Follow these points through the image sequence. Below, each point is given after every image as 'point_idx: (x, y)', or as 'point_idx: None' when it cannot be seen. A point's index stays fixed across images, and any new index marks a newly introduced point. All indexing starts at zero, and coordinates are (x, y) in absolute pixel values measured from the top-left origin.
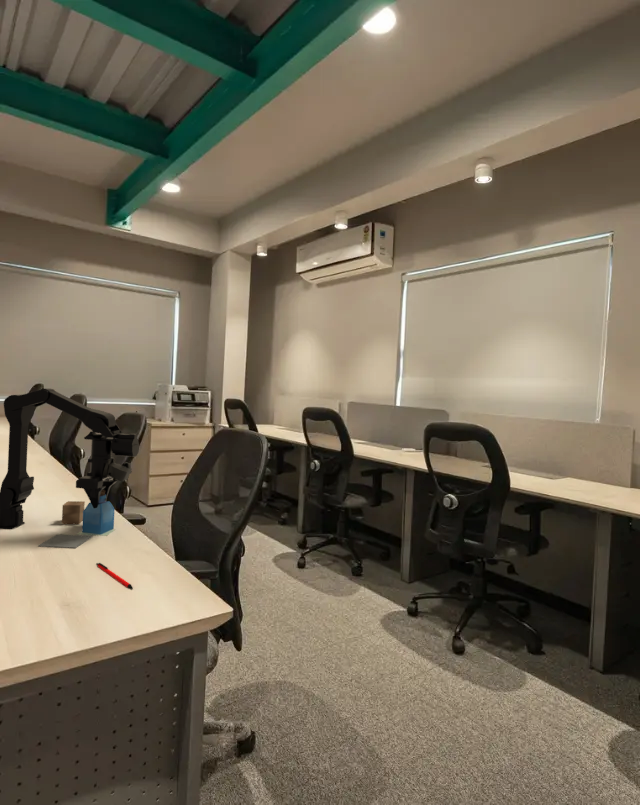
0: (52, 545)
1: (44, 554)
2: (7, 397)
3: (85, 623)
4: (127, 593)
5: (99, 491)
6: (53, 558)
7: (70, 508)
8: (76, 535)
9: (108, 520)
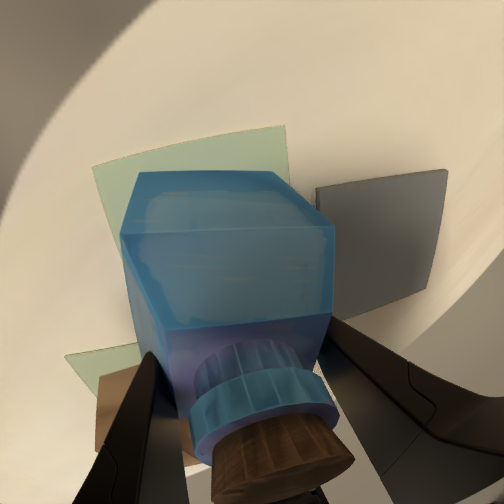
0: (431, 252)
1: (472, 224)
2: None
3: None
4: None
5: (495, 400)
6: (493, 183)
7: (184, 439)
8: None
9: (210, 193)
